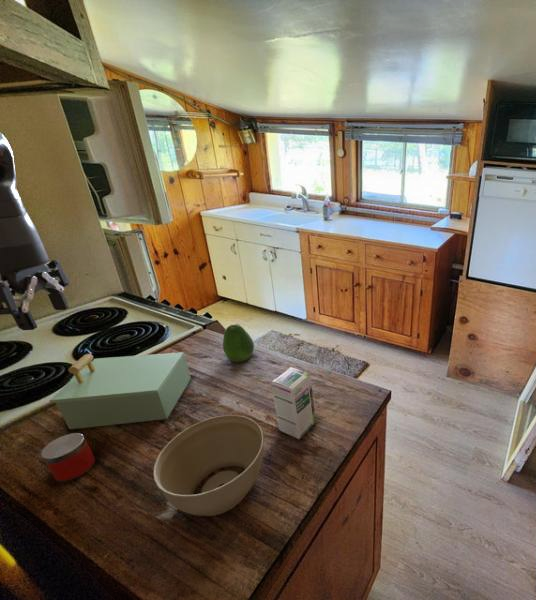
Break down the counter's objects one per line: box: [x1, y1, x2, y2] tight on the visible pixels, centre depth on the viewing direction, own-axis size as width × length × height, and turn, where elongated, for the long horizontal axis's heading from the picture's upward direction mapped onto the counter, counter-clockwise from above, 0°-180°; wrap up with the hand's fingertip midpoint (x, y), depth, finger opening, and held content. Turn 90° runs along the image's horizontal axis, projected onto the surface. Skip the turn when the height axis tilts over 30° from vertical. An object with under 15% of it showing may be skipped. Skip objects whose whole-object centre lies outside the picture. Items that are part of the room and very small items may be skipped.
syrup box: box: [270, 366, 317, 440], centre depth 70 cm, size 6×6×14 cm
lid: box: [49, 351, 185, 404], centre depth 73 cm, size 19×15×5 cm
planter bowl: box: [152, 414, 265, 517], centre depth 57 cm, size 16×16×11 cm
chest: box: [55, 354, 192, 430], centre depth 76 cm, size 19×15×8 cm
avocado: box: [222, 323, 255, 363], centre depth 93 cm, size 8×8×12 cm
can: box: [40, 432, 96, 483], centre depth 60 cm, size 6×6×7 cm
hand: (46, 318), depth 66 cm, fingers open, 8 cm apart
